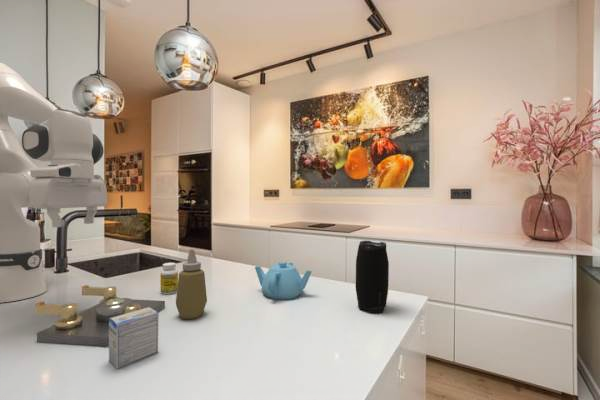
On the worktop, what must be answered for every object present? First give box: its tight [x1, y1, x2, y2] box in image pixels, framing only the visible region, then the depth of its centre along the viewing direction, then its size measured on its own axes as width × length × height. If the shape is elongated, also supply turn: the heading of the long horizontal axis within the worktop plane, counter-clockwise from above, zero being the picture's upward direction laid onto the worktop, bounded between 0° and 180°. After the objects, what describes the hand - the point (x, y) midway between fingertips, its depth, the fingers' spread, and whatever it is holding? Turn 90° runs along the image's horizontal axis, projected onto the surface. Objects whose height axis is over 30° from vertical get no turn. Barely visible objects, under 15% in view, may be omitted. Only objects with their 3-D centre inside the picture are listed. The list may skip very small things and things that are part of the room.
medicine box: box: [108, 307, 160, 370], centre depth 59 cm, size 8×4×9 cm, turn 141°
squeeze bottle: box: [175, 248, 208, 320], centre depth 80 cm, size 8×8×18 cm
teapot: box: [254, 261, 313, 301], centre depth 99 cm, size 15×15×11 cm
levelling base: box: [36, 297, 166, 348], centre depth 75 cm, size 17×22×6 cm
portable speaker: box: [355, 240, 390, 315], centre depth 86 cm, size 9×9×20 cm
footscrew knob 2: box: [81, 284, 120, 304], centre depth 82 cm, size 10×5×5 cm, turn 85°
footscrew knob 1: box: [35, 301, 82, 329], centre depth 69 cm, size 10×5×5 cm, turn 85°
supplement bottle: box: [160, 262, 179, 296], centre depth 99 cm, size 5×5×10 cm
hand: (74, 225), depth 77 cm, fingers open, 8 cm apart
